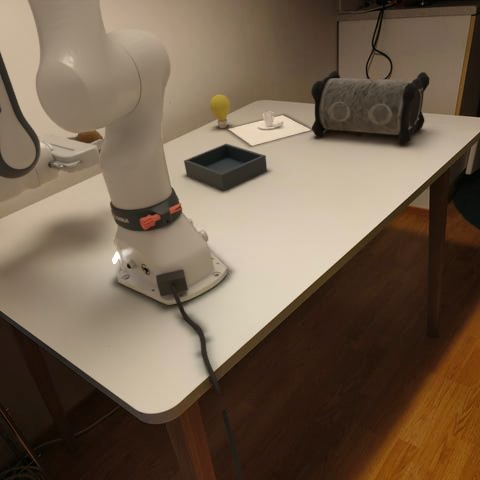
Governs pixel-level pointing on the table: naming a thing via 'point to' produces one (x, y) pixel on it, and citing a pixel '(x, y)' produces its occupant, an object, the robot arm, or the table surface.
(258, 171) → the tub
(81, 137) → the fruit
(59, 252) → the table surface
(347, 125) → the speaker
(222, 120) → the light bulb
